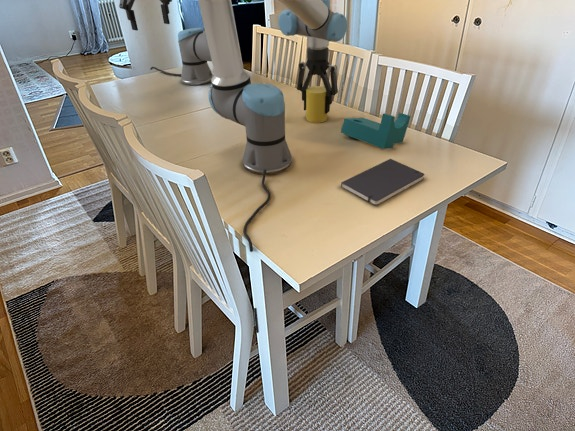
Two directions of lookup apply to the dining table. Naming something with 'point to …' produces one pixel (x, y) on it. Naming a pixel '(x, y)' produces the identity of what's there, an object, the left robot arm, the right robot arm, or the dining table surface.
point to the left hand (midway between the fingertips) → (151, 26)
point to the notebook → (382, 181)
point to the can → (316, 104)
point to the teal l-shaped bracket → (377, 130)
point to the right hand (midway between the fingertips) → (316, 110)
